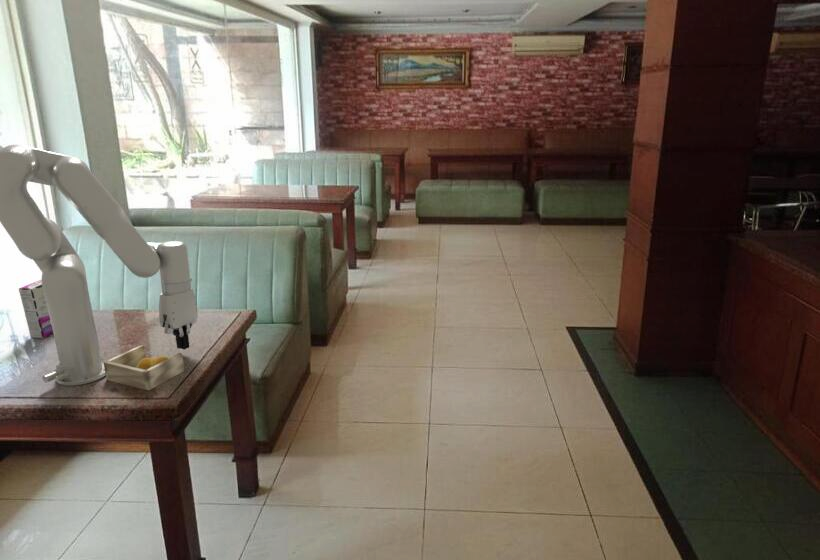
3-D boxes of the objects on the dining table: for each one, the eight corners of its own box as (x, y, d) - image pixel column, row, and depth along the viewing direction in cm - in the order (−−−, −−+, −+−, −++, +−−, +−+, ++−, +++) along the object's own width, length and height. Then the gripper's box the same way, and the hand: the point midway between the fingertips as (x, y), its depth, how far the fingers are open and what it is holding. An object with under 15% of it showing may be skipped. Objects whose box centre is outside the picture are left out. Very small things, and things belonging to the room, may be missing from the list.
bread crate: (148, 390, 145) (145, 372, 143) (106, 379, 151) (103, 362, 149) (184, 370, 155) (182, 353, 154) (144, 361, 161) (141, 344, 160)
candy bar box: (56, 325, 189) (46, 277, 184) (69, 325, 188) (59, 277, 183) (29, 338, 178) (17, 287, 173) (43, 339, 177) (32, 288, 173)
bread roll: (170, 375, 153) (168, 362, 152) (134, 380, 151) (131, 366, 150) (175, 362, 160) (173, 349, 159) (140, 366, 158) (138, 353, 157)
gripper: (186, 277, 167) (192, 336, 173) (144, 291, 154) (152, 355, 159) (206, 281, 164) (212, 340, 170) (165, 295, 151) (172, 360, 157)
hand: (183, 347), depth 165 cm, fingers closed
